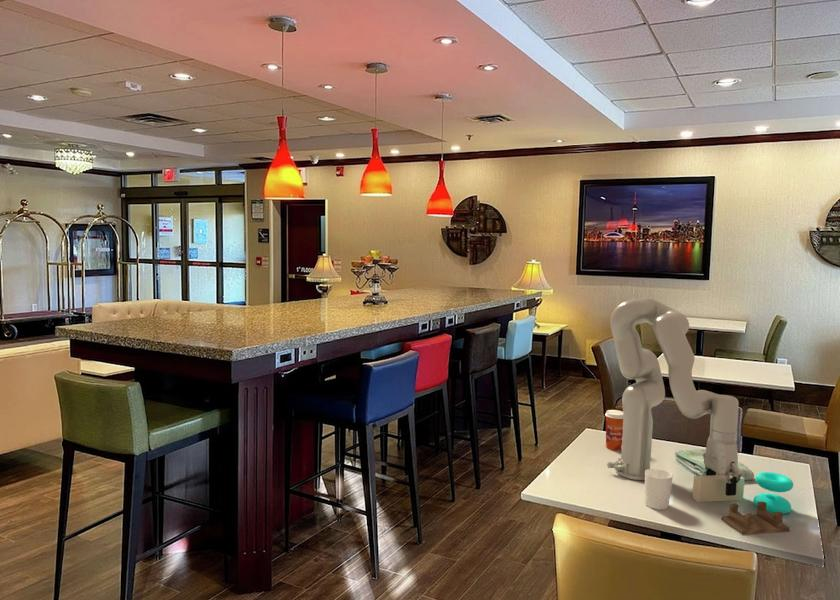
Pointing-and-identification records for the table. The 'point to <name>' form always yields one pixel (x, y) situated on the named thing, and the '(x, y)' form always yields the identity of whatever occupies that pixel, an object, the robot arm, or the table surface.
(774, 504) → the donuts
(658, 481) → the white cup
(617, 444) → the paper cup
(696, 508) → the table surface
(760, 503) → the rack
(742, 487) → the cream rectangular block
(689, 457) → the towel
